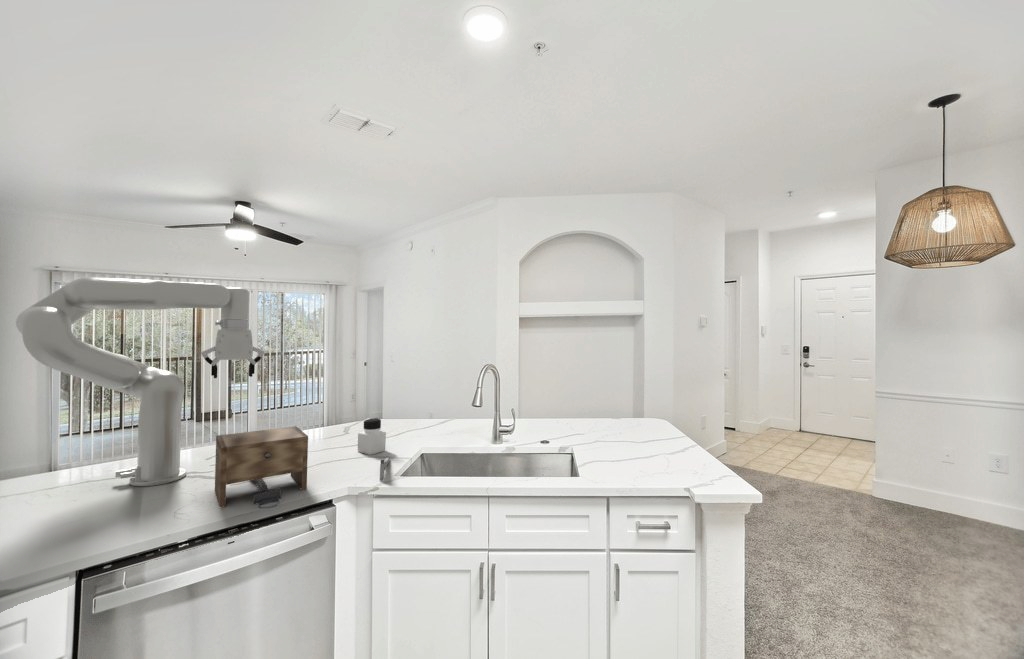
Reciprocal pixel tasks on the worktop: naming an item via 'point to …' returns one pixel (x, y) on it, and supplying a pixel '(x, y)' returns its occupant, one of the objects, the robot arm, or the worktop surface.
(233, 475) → the walnut cabinet
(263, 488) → the scraper
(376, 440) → the medicine bottle
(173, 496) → the worktop surface
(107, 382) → the robot arm
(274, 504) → the steel token
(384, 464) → the caliper
